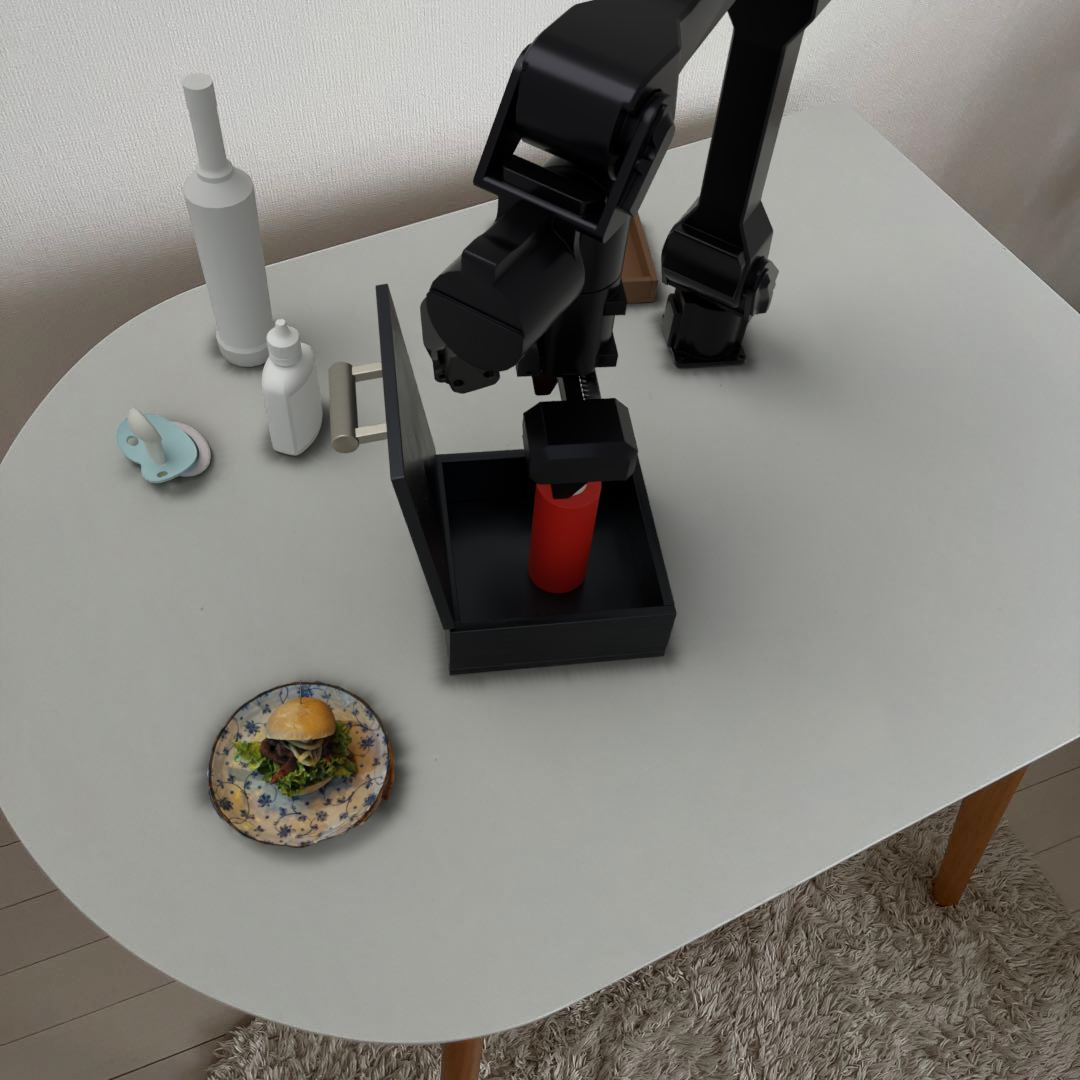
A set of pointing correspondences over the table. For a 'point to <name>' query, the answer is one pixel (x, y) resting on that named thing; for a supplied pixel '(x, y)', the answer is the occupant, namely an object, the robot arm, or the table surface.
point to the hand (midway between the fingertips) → (551, 443)
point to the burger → (300, 765)
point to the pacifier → (162, 447)
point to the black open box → (522, 607)
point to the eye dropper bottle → (291, 391)
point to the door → (399, 446)
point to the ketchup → (562, 537)
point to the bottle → (226, 234)
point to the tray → (638, 266)
